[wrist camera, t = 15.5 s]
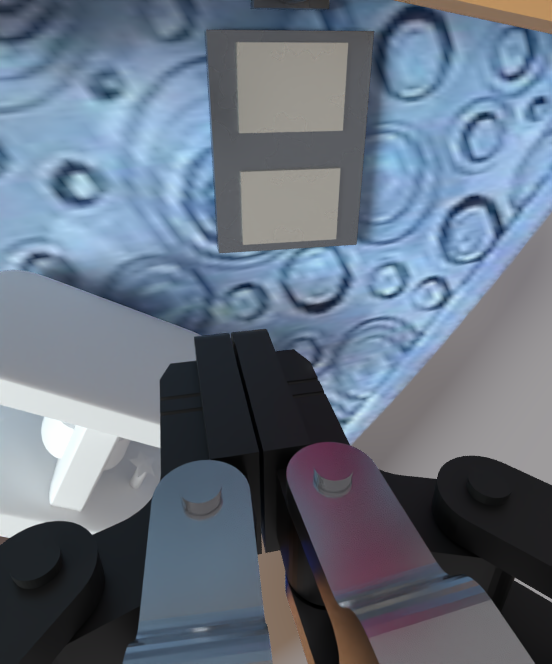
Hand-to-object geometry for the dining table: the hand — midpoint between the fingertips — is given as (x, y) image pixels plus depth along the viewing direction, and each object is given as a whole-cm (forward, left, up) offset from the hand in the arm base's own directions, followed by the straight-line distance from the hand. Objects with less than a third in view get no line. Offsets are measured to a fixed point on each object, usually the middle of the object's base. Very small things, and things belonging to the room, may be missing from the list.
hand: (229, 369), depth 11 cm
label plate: (-1, +6, -22) cm, 23 cm away
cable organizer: (+13, -7, -23) cm, 27 cm away
